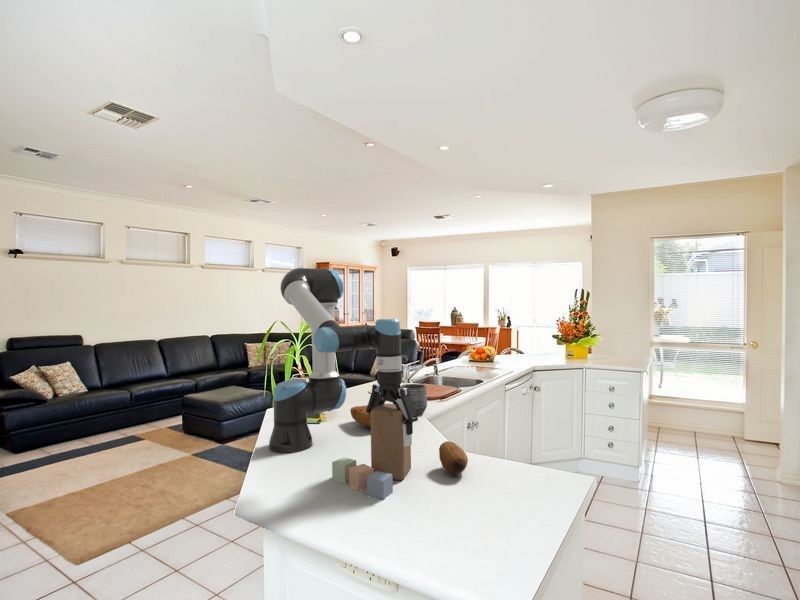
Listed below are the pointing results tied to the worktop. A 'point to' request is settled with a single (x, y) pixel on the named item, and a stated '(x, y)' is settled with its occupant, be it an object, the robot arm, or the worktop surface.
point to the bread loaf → (361, 415)
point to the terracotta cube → (359, 476)
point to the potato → (452, 458)
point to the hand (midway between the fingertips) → (391, 441)
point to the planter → (417, 396)
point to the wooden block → (389, 442)
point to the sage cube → (342, 469)
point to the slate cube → (379, 485)
